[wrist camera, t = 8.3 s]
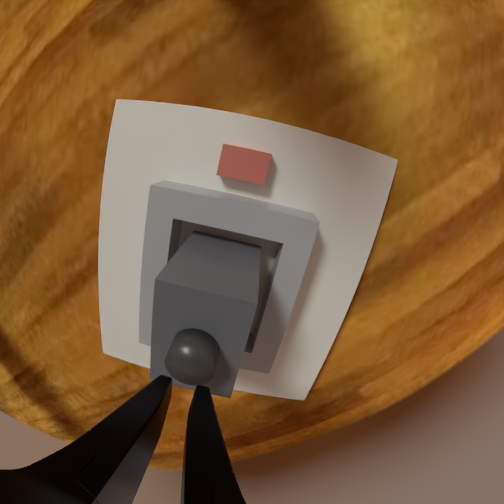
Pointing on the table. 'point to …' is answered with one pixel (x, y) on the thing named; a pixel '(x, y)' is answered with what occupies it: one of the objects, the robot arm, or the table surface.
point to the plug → (204, 312)
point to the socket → (238, 228)
